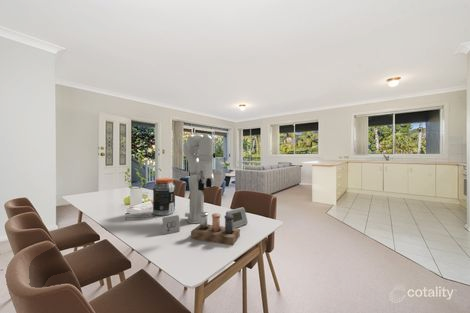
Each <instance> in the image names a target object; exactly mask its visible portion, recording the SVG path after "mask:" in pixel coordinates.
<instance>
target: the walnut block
mask: <svg viewBox="0 0 470 313" xmlns="http://www.w3.org/2000/svg"><path fill="white" fill-rule="evenodd" d="M240 234H241V229H240V228H233V230H232V234H226V233H225V226H223V225H220V231H219V232H212V224H208V223H207V230H200V224H199V225H197V226H196V227H195V228H193V229H192V230H191V231H190V239H191V240H198V241H203V242H204V241H205V242H209V243H216V244H221V245H222V244H223V245H226V246H227V245H228V246H232V247H233V246H234V245H235V244H236V242H237V241H238V239H239V238H240V236H241V235H240Z"/></svg>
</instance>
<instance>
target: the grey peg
mask: <svg viewBox="0 0 470 313" xmlns="http://www.w3.org/2000/svg"><path fill="white" fill-rule="evenodd" d="M208 216H209V212H207V211H204V212H201V213H200V223H199V225H200V230H207V224H208Z"/></svg>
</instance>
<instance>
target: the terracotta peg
mask: <svg viewBox="0 0 470 313" xmlns="http://www.w3.org/2000/svg"><path fill="white" fill-rule="evenodd" d="M211 218H212V224H211V225H212V232H219V231H220V226H221V224H220V222H221V221H220V220H221V213H217V212H215V213H212V214H211Z"/></svg>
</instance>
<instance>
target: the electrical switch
mask: <svg viewBox="0 0 470 313" xmlns="http://www.w3.org/2000/svg"><path fill="white" fill-rule="evenodd" d="M180 229H181V227H180V216H179V214H176V215H170V216H169V215H168V216H165V217H164V216H163V217H162V230H163V231H162V234H163V235H167V234H168V235H169V234H174V233H177V232H180V231H181V230H180Z"/></svg>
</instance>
